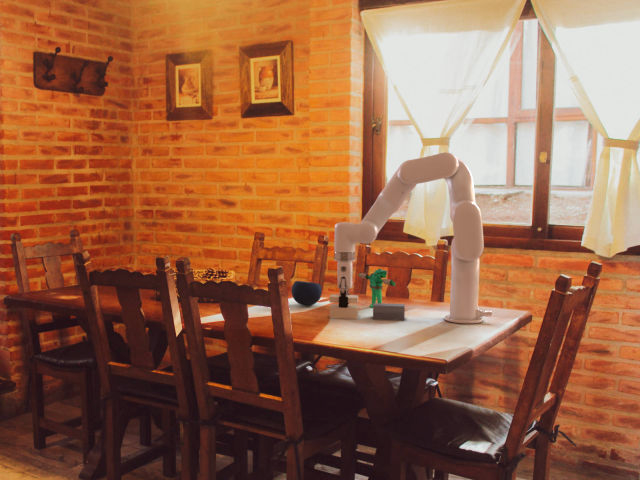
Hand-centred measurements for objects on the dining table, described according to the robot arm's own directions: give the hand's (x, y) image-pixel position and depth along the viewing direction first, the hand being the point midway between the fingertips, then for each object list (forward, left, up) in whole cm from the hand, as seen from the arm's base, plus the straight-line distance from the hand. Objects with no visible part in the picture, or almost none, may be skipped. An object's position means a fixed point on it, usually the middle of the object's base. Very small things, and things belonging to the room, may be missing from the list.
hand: (343, 305), depth 272 cm
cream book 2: (0, 0, -2) cm, 2 cm away
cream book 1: (0, 0, +1) cm, 1 cm away
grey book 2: (-16, 0, -4) cm, 17 cm away
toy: (-12, -20, -4) cm, 24 cm away
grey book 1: (-16, 0, -2) cm, 16 cm away
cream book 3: (0, 0, -4) cm, 4 cm away
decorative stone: (+16, -20, -4) cm, 26 cm away
